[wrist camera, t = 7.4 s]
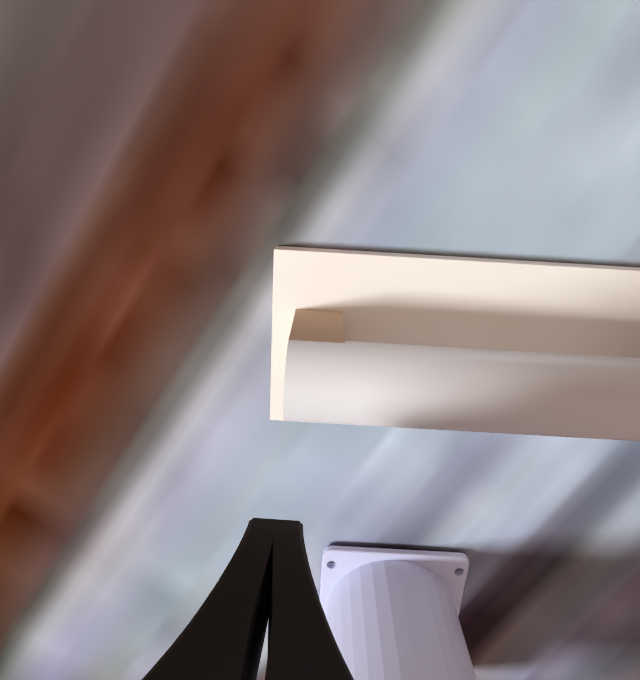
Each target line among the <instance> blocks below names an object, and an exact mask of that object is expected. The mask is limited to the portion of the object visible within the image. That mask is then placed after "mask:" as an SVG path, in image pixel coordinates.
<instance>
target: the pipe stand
mask: <svg viewBox="0 0 640 680" xmlns="http://www.w3.org/2000/svg"><path fill="white" fill-rule="evenodd" d="M270 420H284V421H297V422H314V423H332V424H349V425H367V426H384V427H402V428H419V429H437V430H454V431H472V432H489V433H507V434H524V435H542V436H559V437H577V438H594V439H612V440H629V441H640V267H624V266H607V265H590V264H573V263H557V262H540V261H523V260H506V259H489V258H473V257H456V256H439V255H422V254H405V253H388V252H372V251H355V250H338V249H321V248H304V247H288V246H276V247H275V249H274V269H273V312H272V355H271V398H270Z"/></svg>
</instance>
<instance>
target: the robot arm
mask: <svg viewBox="0 0 640 680" xmlns="http://www.w3.org/2000/svg"><path fill="white" fill-rule="evenodd" d="M329 561H333V562H334V563H329ZM457 568H461V569H459V570H456V569H457ZM468 569H469V560H468V557H467V556H466V555H465V554H464V553H457V552H439V551H421V550H403V549H385V548H366V547H348V546H328V547H326V548H325V549H324V550H323V558H322V571H321V584H320V597H318V594H317V590H316V587H315V584H314V581H313V577H312V574H311V570H310V567H309V563H308V558H307V554H306V549H305V544H304V537H303V525H302V524H301V523H300V522H299V521H291V520H276V519H262V518H253V519H252V520H250V521H249V524H248V526H247V529H246V531H245V533H244V536H243V538H242V540H241V542H240V544H239V546H238V548H237V550H236V552H235V553H234V555H233V557H232V559H231V561H230V562H229V564H228V566H227V567H226V569H225V571H224V572H223V574H222V576H221V577H220V579H219V581H218V582H217V584H216V585H215V587H214V588H213V590H212V591H211V593H210V594H209V596H208V597H207V599H206V600H205V602H204V603H203V605H202V606H201V607H200V609H199V610H198V612H197V613H196V615H195V616H194V617H193V619H192V620H191V621H190V623H189V624H188V625H187V627H186V628H185V629H184V631H183V632H182V633H181V634H180V636H179V637H178V638H177V639H176V641H175V642H174V643H173V644H172V646H171V647H170V648H169V649H168V650H167V651H166V653H165V654H164V655H163V656H162V657H161V658H160V660H159V661H158V662H157V663H156V664H155V665H154V667H153V668H152V669H151V670H150V671H149V672H148V673H147V674H146V676H145V677H144V678H143V679H142V680H256V678H257V673H258V668H259V663H260V658H261V653H262V648H263V643H264V638H265V633H266V627H267V622H268V617H269V623H268V660H267V668H266V676H265V680H477V679H476V675H475V672H474V669H473V665H472V662H471V659H470V655H469V652H468V649H467V645H466V642H465V638H464V635H463V632H462V628H461V625H460V622H459V618H458V616H459V611H460V606H461V602H462V597H463V592H464V588H465V583H466V578H467V573H468Z"/></svg>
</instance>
